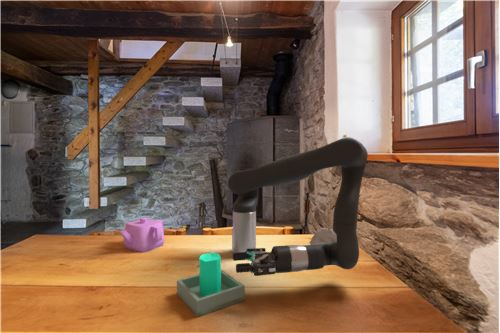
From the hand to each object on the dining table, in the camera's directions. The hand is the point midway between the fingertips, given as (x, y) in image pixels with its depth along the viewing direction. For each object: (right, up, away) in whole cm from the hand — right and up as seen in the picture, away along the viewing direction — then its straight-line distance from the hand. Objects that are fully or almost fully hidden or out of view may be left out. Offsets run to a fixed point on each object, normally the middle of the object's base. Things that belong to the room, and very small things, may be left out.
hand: (234, 262), depth 81 cm
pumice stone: (+37, -8, +37) cm, 53 cm away
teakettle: (-42, -8, +43) cm, 60 cm away
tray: (-7, -9, -1) cm, 12 cm away
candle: (-7, -9, -1) cm, 11 cm away
